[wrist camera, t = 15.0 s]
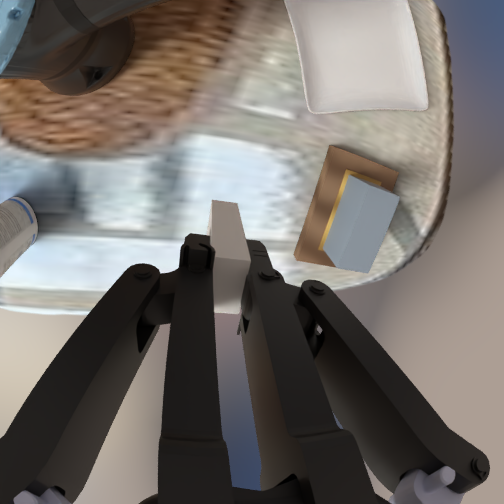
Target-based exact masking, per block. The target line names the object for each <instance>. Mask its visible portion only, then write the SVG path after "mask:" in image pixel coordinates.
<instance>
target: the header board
mask: <svg viewBox="0 0 504 504" xmlns="http://www.w3.org/2000/svg"><path fill="white" fill-rule="evenodd" d="M398 174H399V173H398V172H396V171H394V170H392V169H389V168H387V167H385V166H382V165H380V164H378V163H375V162H373V161H370V160H368V159H366V158H363V157H360V156H358V155H355V154H353V153H350V152H347V151H345V150H342V149H339V148H337V147H334V146H330V145H329V148H328V152H327V155H326V158H325V161H324V165H323V168H322V171H321V174H320V177H319V180H318V183H317V187H316V190H315V193H314V196H313V199H312V202H311V205H310V208H309V211H308V214H307V217H306V220H305V223H304V226H303V229H302V232H301V234H300V237H299V240H298V243H297V246H296V249H295V252H294V256H295V258H296V260H297V261H303V262H308V263H314V264H320V265H325V266H331V267H336V266H335V265H334V263H333V262H332V260H331V259H330V258H329V256H328V255H327V254H326V252H325V251H324V250H323V246H324V243H325V241H326V238H327V236H328V233H329V230H330V227H331V225H332V222H333V219H334V217H335V214H336V211H337V208H338V205H339V202H340V200H341V197H342V194H343V191H344V188H345V185H346V182H347V179H348V176H349V175H352V176H355V177H358V178H360V179H363V180H366V181H369V182H371V183H374V184H377V185H379V186H381V187H383V188H385V189H387V190H388V191H390V192H392V191H393V188H394V185H395V183H396V180H397V177H398ZM336 268H337V267H336Z"/></svg>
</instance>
